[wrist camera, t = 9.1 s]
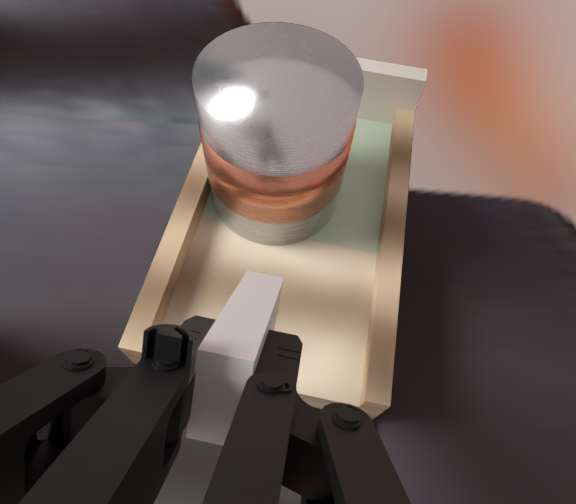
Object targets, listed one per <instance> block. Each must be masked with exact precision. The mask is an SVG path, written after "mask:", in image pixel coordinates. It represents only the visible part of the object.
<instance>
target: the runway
mask: <svg viewBox="0 0 576 504" xmlns="http://www.w3.org/2000/svg"><path fill="white" fill-rule="evenodd" d="M414 116H415V111H411V110H405V109H399V108H398V109H397V112H396V115H395V118H394V121H393V124H392V131H391V139H390V148H389V156H388V165H387V173H386V182H385V190H384V199H383V207H382V216H381V224H380V233H379V241H378V250H377V254H376V253H371V252H366V251H361V250H356V249H351V248H346V247H341V246H335V245H330V244H325V243H320V242H315V241H310V240H303V241H301V242H298V243H294V244H290V245H282V246H271V245H262V244H258V243H254V242H251V241H248V240H246V239H244V238H242V237H240V236H238V235H237V234H235V233H234V232H232V231H231V230H230V229H229V228H228V227H227V226H226V225H225V224H224V223H218V222H213V221H208V220H203V219H201V216H202V213H203V210H204V208H205V205H206V202H207V199H208V197H209V194H210V191H211V186H210V182H209V179H208V174H207V168H206V163H205V157H204V152H203V146H202V141H201V144H200V146H199V149H198V151H197V154H196V156H195V159H194V161H193V164H192V166H191V169H190V171H189V173H188V176H187V178H186V181H185V183H184V186H183V188H182V191H181V193H180V196H179V198H178V201H177V203H176V205H175V208H174V210H173V213H172V215H171V218H170V220H169V223H168V225H167V228H166V230H165V232H164V235H163V237H162V240H161V242H160V245H159V247H158V250H157V252H156V255H155V257H154V260H153V262H152V264H151V267H150V269H149V272H148V274H147V277H146V279H145V282H144V284H143V287H142V289H141V292H140V294H139V296H138V299H137V301H136V304H135V306H134V309H133V311H132V314H131V316H130V319H129V321H128V323H127V326H126V328H125V331H124V333H123V336H122V338H121V341H120V343H119V346H118V348H119V349H120V350H121V351H122V352H123V353H124V354H125V355H126V356H127V357H128V358H129V359H130V360H131V361H132V362H133V363H134V364H135V365H136V364H137V363H138V362H139V361H140V359H141V356H142V345H143V333H144V330H146V329H147V328H149V327H151V326H154V325H158V324H174V325H179V326H181V324H182V323H183V322H184V321H185V320H187V319H189V318H191V317H193V316H195V315H197V316H201V317H206V318H211V319H217V317H218V316H219V314H220V313H221V311H222V309H223V308H224V306H225V305H226V303H227V302H228V300H229V298H230V297H231V295H232V294H233V292H234V291H235V289H236V287H237V286H238V284H239V283H240V281H241V280H242V278H243V276H244V275H245V273H246V272H247V270H249V271H254V272H259V273H264V274H268V275H273V276H278V277H283V278H284V281H283V286H282V292H281V297H280V303H279V308H278V314H277V319H276V325H275V330H274V331H279V332H283V333H288V334H293V335H298V337H299V338H300V340H301V342H302V344H303V346H302V353H301V359H300V365H299V372H298V378H297V385H296V390H297V393H298V395H299V396H300V397H301V399H302V400H303V401H305V402H306V403H307V404H309V405H310V406H312V407H314V408H316V409H318V410H322V409H323V407H324V406H325V405H328V404H330V403H338V402H341V403H346V404H351V405H353V406H356V407H358V408H360V409H361V410H363V411H364V412H365V413H367V414H368V415H369V417H370V418H371V420H372V419H374V418H375V417H377V416H378V415H379V414H381V413H382V412H383V411H385V410H386V409H388V408H389V407H390V405H391V393H392V381H393V369H394V357H395V345H396V333H397V321H398V309H399V297H400V285H401V273H402V261H403V249H404V237H405V225H406V213H407V201H408V189H409V176H410V164H411V152H412V140H413V128H414ZM187 425H188V423H187ZM187 425H186V427H185V429H184V431H183V433H182V438H181V445H180V450H179V453H178V455H177V457H176V459H175V461H174V463H173V465H172V467H171V469H170V471H169V473H168V475H167V477H166V479H165V481H164V484H163V486H162V488H161V490H160V492H159V494H158V496H157V498H156V500H155V502H154V504H202V503H203V500H204V497H205V494H206V492H207V489H208V486H209V483H210V481H211V478H212V475H213V472H214V469H215V467H216V464H217V461H218V458H219V456H220V453H221V450H222V447H223V446H222V445H218V444H213V443H209V442H204V441H200V440H195V439H191V438H187V437H186V432H187ZM279 504H301V495H299V494H297V493H295V492H293V491H291V490H290V489H288V488H286V487H284V486H282V485H281V492H280V498H279Z"/></svg>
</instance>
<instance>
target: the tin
mask: <svg viewBox="0 0 576 504" xmlns="http://www.w3.org/2000/svg"><path fill="white" fill-rule="evenodd" d="M192 85H193V91H194V96H195V102H196V108H197V113H198V123H199V130H200V135H201V141H202V146H203V152H204V157H205V163H206V168H207V174H208V179H209V182H210V186H211V191H212V197H213V202H214V206H215V209H216V212H217V214H218V216H219V217H220V219H221V220H222V222H223V223H224V224H225V225H226V226H227V227H228V228H229V229H230V230H231V231H232V232H234V233H235V234H237V235H238V236H240V237H242V238H244V239H246V240H248V241H251V242H254V243H258V244H262V245H271V246H282V245H290V244H294V243H298V242H301V241H303V240H306V239H308V238H310V237H312V236H313V235H315V234H316V233H318V232H319V231H320V230H321V229H322V228H323V227H324V226H325V225H326V224H327V223H328V222H329V220H330V219H331V217H332V215H333V213H334V210H335V207H336V203H337V199H338V195H339V191H340V188H341V185H342V182H343V178H344V173H345V169H346V165H347V161H348V157H349V153H350V149H351V144H352V140H353V136H354V132H355V125H356V119H357V115H358V111H359V107H360V103H361V98H362V94H363V89H364V76H363V71H362V69H361V66H360V64H359V62H358V60H357V59H356V57H355V56H354V55H353V53H352V52H351V51H350V50H349V49H348V48H347V47H346V46H345V45H344V44H342V43H341V42H340V41H338V40H337V39H335V38H334V37H332V36H330V35H328V34H326V33H324V32H322V31H320V30H317V29H314V28H311V27H308V26H304V25H299V24H294V23H285V22H263V23H255V24H250V25H245V26H241V27H238V28H235V29H232V30H230V31H228V32H226V33H224V34H222V35H220V36H219V37H217V38H215V39H214V40H213V41H211V42H210V43H209V44H208V45H207V46H206V47H205V48H204V49H203V50H202V51H201V53H200V54H199V56H198V57H197V59H196V61H195V64H194V67H193V71H192Z"/></svg>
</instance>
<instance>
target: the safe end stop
mask: <svg viewBox="0 0 576 504" xmlns="http://www.w3.org/2000/svg"><path fill="white" fill-rule="evenodd" d="M356 59H357V60H358V62H359V64H360V66H361V69H362V71H363V76H364V89H363V94H362V98H361V103H360V107H359V111H358V115H357V119H356V125H355V132H354V136H353V140H352V144H351V149H350V153H349V157H348V161H347V165H346V169H345V173H344V178H343V182H342V185H341V188H340V191H339V195H338V199H337V203H336V207H335V210H334V213H333V215H332V217H331V219H330V220H329V222H328V223H327V224H326V225H325V226H324V227H323V228H322V229H321V230H320V231H319V232H318V233H316V234H315V235H313V236H312V237H310V238H308V239H306V240H310V241H315V242H320V243H325V244H330V245H335V246H341V247H346V248H351V249H356V250H361V251H366V252H371V253H376V254H377V250H378V241H379V233H380V224H381V216H382V207H383V199H384V190H385V182H386V173H387V165H388V156H389V148H390V139H391V131H392V124H393V121H394V118H395V115H396V112H397V109H398V108H399V109H405V110H411V111H415V110H416V107H417V104H418V102H419V99H420V96H421V94H422V91H423V89H424V86H425V84H426V80H427V79H426V78H427V69H423V68H417V67H411V66H405V65H399V64H394V63H387V62H381V61H375V60H370V59H364V58H358V57H356ZM201 219H203V220H208V221H213V222H218V223H223V222H222V220H221V219H220V217H219V216H218V214H217V212H216V209H215V206H214V202H213V197H212V191H210V194H209V197H208V199H207V202H206V205H205V208H204V210H203V213H202V216H201Z"/></svg>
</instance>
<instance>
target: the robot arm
mask: <svg viewBox="0 0 576 504" xmlns="http://www.w3.org/2000/svg"><path fill="white" fill-rule="evenodd" d="M283 281H284V278H283V277H278V276H273V275H268V274H264V273H259V272H254V271H249V270H247V272H246V273H245V275H244V276H243V278H242V280H241V281H240V283H239V284H238V286H237V287H236V289H235V291H234V292H233V294H232V295H231V297H230V298H229V300H228V302H227V303H226V305H225V306H224V308H223V309H222V311H221V313H220V314H219V316H218V317H217V319H211V318H206V317H201V316H197V315H195V316H193V317H191V318H189V319H187V320H185V321H184V322H183V323H182V324H181V326H179V325H174V324H158V325H154V326H151V327H149V328H147V329H146V330H144V333H143V345H142V356H141V359H140V361H139V362H138V363H137V364H136V365H135V367H125V368H119V367H107V359H106V357H105V355H103V354H102V353H100V352H98V351H94V350H90V349H74V350H68V351H65V352H63V353H60V354H57V355H56V356H54V357H52V358H50V359H48V360H46V361H44V362H42V363H40V364H38V365H37V366H35V367H33V368H31V369H29V370H27V371H25V372H23V373H21V374H19V375H18V376H16V377H14V378H12V379H10V380H8V381H6V382H4V383H2V384H0V504H154V502H155V500H156V498H157V496H158V494H159V492H160V490H161V488H162V486H163V484H164V481H165V479H166V477H167V475H168V473H169V471H170V469H171V467H172V465H173V463H174V461H175V459H176V457H177V455H178V453H179V450H180V445H181V438H182V433H183V431H184V429H185V427H186V425H187V423H188V425H187V432H186V437H187V438H191V439H195V440H200V441H204V442H209V443H213V444H218V445H222V446H223V447H222V450H221V453H220V456H219V458H218V461H217V464H216V467H215V469H214V472H213V475H212V478H211V481H210V483H209V486H208V489H207V492H206V494H205V497H204V500H203V503H202V504H279V498H280V492H281V485H282V486H284V487H286V488H288V489H290V490H291V491H293V492H295V493H297V494H299V495H301V504H411V503H410V501H409V499H408V497H407V494H406V492H405V490H404V488H403V486H402V484H401V481H400V479H399V477H398V475H397V473H396V471H395V468H394V466H393V464H392V462H391V460H390V458H389V455H388V453H387V451H386V449H385V447H384V445H383V442H382V440H381V438H380V436H379V434H378V432H377V429H376V427H375V425H374V423H373V421H372V420H371V418H370V417H369V415H368V414H367V413H365V412H364V411H363V410H361V409H360V408H358V407H356V406H353V405H351V404H346V403H341V402H338V403H330V404H328V405H325V406H324V407H323V409H322V410H318V409H316V408H314V407H312V406H310V405H309V404H307V403H306V402H305V401H303V400H302V399H301V397H300V396H299V395H298V393H297V390H296V385H297V378H298V372H299V365H300V359H301V353H302V346H303V344H302V342H301V340H300V338H299V337H298V335H293V334H288V333H283V332H279V331H274V330H275V325H276V319H277V314H278V308H279V303H280V297H281V292H282V286H283ZM46 424H48V429H47V431H46V432H45V433H43V434H42V435H40V436H38V437H37V436H36V432H37V431H38V430H39V429H41V428H42V427H43V426H45V425H46Z"/></svg>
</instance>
